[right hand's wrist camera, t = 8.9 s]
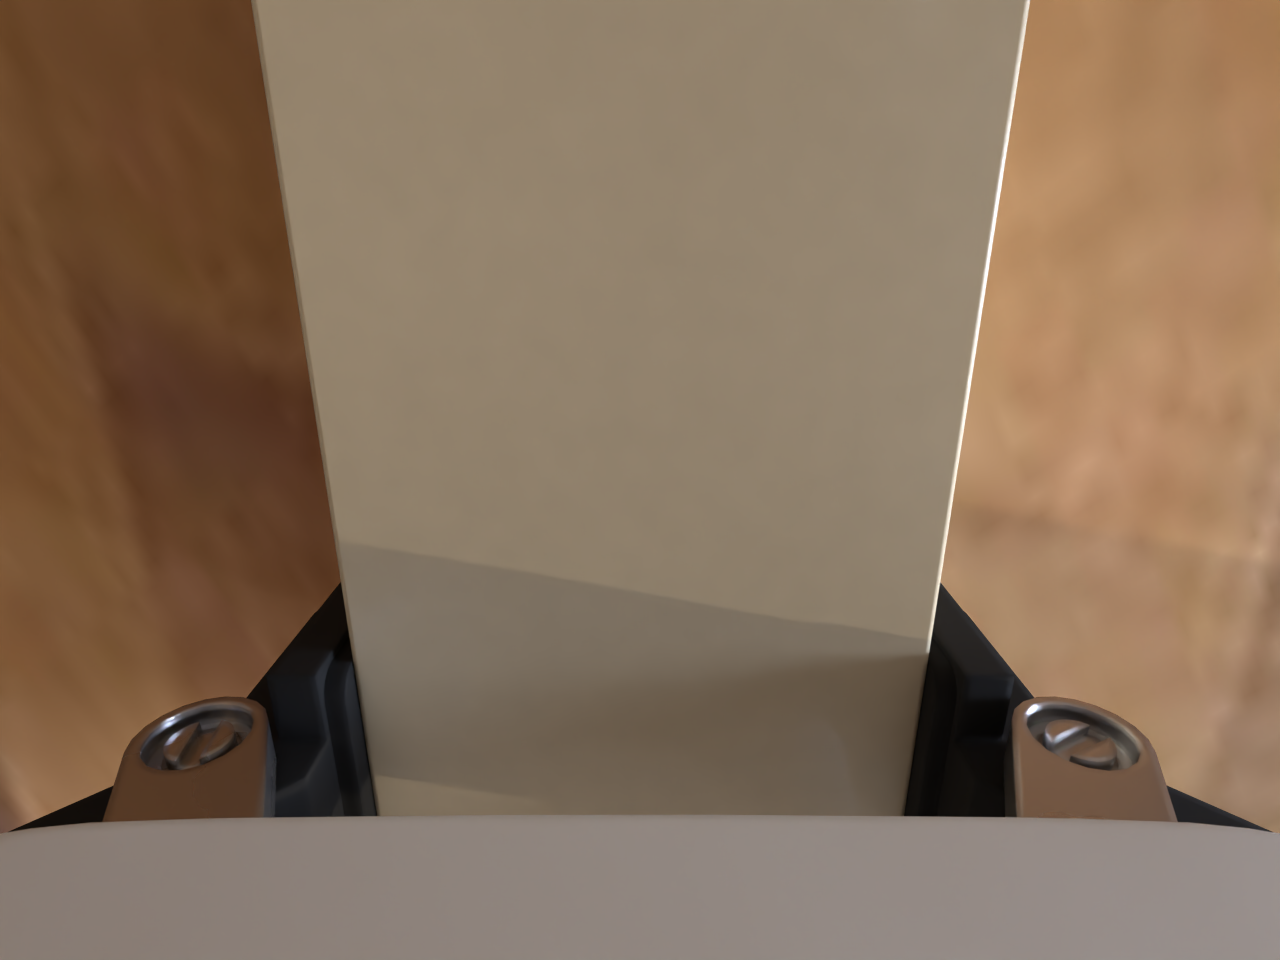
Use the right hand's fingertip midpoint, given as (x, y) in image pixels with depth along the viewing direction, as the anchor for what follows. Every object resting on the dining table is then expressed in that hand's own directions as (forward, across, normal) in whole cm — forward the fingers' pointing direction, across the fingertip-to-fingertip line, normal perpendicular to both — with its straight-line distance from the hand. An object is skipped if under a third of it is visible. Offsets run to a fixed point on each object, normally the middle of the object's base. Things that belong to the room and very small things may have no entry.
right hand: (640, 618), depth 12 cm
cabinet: (+5, 0, -6) cm, 8 cm away
